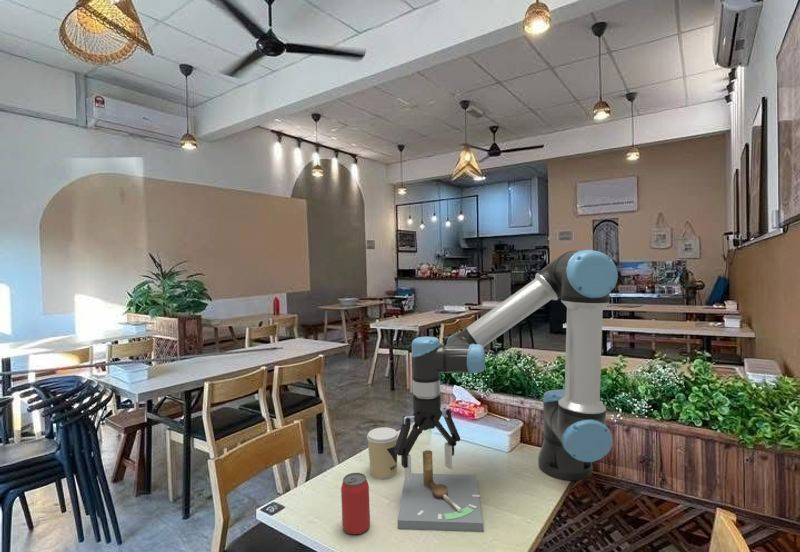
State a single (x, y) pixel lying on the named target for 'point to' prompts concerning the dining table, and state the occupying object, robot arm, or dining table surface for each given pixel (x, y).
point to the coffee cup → (382, 452)
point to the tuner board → (441, 504)
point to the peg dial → (438, 489)
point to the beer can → (355, 503)
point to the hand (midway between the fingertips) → (428, 472)
